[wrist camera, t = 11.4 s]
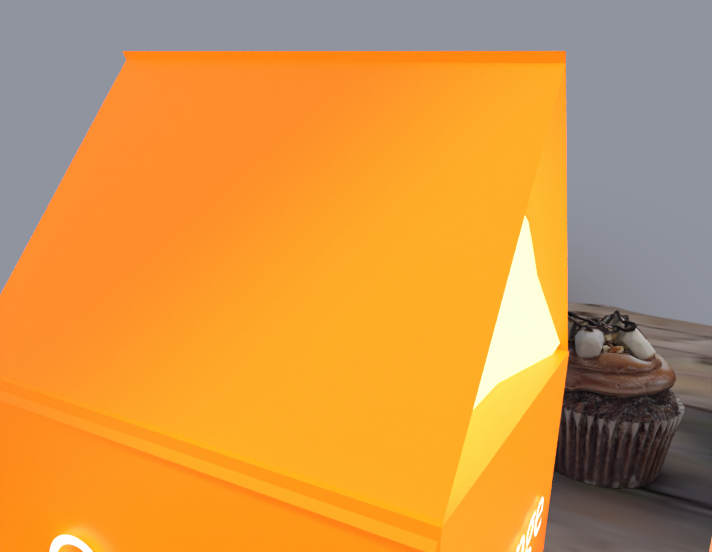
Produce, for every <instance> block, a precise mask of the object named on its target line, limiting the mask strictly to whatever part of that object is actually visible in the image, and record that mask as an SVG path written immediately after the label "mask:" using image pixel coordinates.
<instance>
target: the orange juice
mask: <svg viewBox="0 0 712 552" xmlns="http://www.w3.org/2000/svg"><path fill="white" fill-rule="evenodd" d="M123 53H124V55H125V57H126V59H127V60H126V62H125V64H124V66H123V68H122V70H121V71H120V73H119V75H118V77H117V79H116V81H115V83H114V84H113V86H112V88H111V90H110V92H109V94H108V95H107V97H106V99H105V101H104V103H103V105H102V107H101V109H100V110H99V112H98V114H97V116H96V118H95V120H94V122H93V124H92V126H91V127H90V130H89V131H88V133H87V135H86V137H85V138H84V140H83V142H82V144H81V146H80V148H79V150H78V151H77V153H76V155H75V157H74V159H73V161H72V163H71V165H70V167H69V168H68V170H67V172H66V174H65V176H64V178H63V180H62V181H61V183H60V185H59V187H58V189H57V191H56V192H55V194H54V196H53V198H52V200H51V202H50V204H49V206H48V207H47V210H46V211H45V213H44V215H43V217H42V219H41V221H40V223H39V224H38V226H37V228H36V230H35V232H34V234H33V235H32V238H31V239H30V241H29V243H28V245H27V246H26V249H25V250H24V253H23V254H22V256H21V258H20V260H19V261H18V263H17V265H16V267H15V269H14V271H13V273H12V275H11V276H10V278H9V280H8V282H7V284H6V286H5V288H4V289H3V291H2V293H1V295H0V552H543V546H544V539H545V531H546V524H547V516H548V508H549V501H550V493H551V485H552V478H553V470H554V463H555V455H556V447H557V440H558V432H559V425H560V417H561V409H562V402H563V394H564V387H565V379H566V371H567V364H568V356H569V351H568V316H567V193H566V192H567V191H566V190H567V189H566V185H567V184H566V60H565V57H566V53H565V51H258V52H257V51H233V52H232V51H222V52H221V51H218V52H217V51H211V52H210V51H203V52H202V51H190V52H189V51H184V52H183V51H181V52H180V51H167V52H166V51H165V52H164V51H163V52H162V51H154V52H153V51H151V52H150V51H145V52H144V51H143V52H142V51H133V52H132V51H129V52H128V51H125V52H123Z"/></svg>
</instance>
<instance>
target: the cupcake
mask: <svg viewBox="0 0 712 552" xmlns="http://www.w3.org/2000/svg"><path fill="white" fill-rule="evenodd" d="M567 316H568V351H569V356H568V364H567V371H566V379H565V387H564V394H563V402H562V409H561V417H560V425H559V432H558V440H557V447H556V455H555V463H554V470H555V471H557V472H559V473H561V474H563V475H565V476H567V477H569V478H572V479H575V480H578V481H582V482H584V483H588V484H592V485H596V486H602V487H610V488H616V489H619V488H639V487H643V486H646V485H648V484H651V483H653V482H654V480H655V479H656V478H657V477H658V475H659V473H660V470H661V468H662V465H663V463H664V460H665V457H666V455H667V452H668V449H669V446H670V443H671V441H672V438H673V436H674V434H675V432H676V429H677V427H678V425H679V423H680V421H681V418H682V416H683V413H684V407H685V406H683V405H682V404H683V403H682V402H680V401H679V400H680V399H679V398H678V397H675V394H673V392H672V391H671V390H670V388H671V387H672V386H673V385H674V383H675V381H676V377H675V373H674V371H673V369H672V368H671V366H670V365H669V364H668V363H667V362H666V360H665V359H663V358H662V357H661V356H660V355H658V354H657V353H656V352H655V350H654V349H653V347H652V346H651V344H650V343H649V342H648V341H647V339H646V337H645V336H644V334H643V333H642V332H641V331H640V330H639V329H638V328H637V324H636V323H634V322H631V321H629V317H628V315H622V314H620V313H619V311H617V310H616V311H615V312H614V314H610V315H606V316H605V317H604V318H603V319H601V320H599V319H597V318H583V317H580V316H578V315H577V314H575V313H573V312H568V311H567Z"/></svg>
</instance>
